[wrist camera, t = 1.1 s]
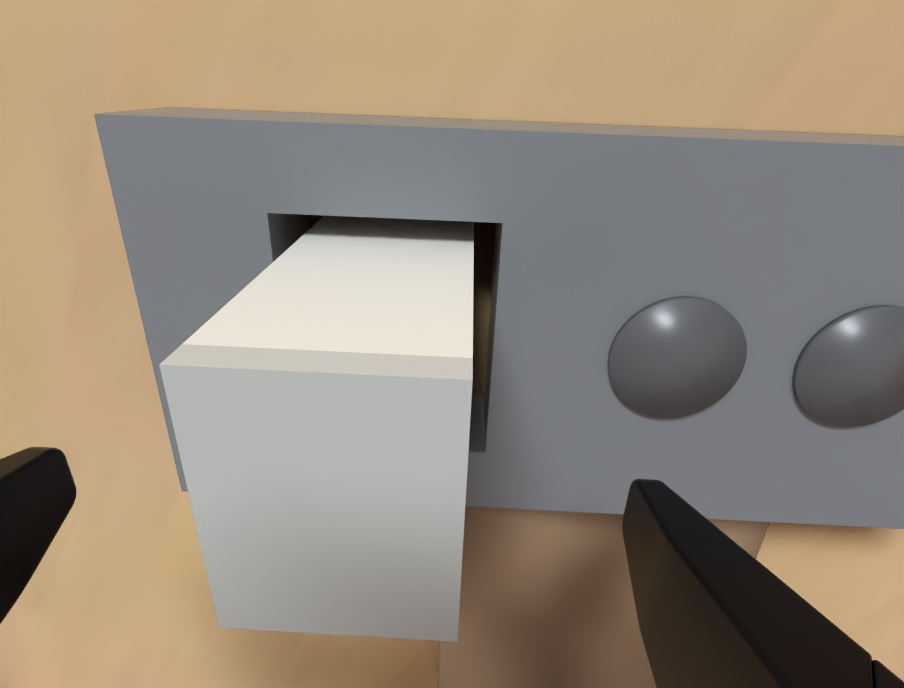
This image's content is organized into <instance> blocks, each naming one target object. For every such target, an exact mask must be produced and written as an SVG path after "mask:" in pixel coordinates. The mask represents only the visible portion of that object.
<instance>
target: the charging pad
mask: <svg viewBox="0 0 904 688" xmlns="http://www.w3.org/2000/svg"><path fill="white" fill-rule="evenodd" d="M623 515H624V514H607V513H588V512H569V511H550V510H531V509H512V508H493V507H474V506H465V520H464V537H463V554H462V572H461V589H460V606H459V623H458V641H457V642H452V641H440V648H439V676H438V688H656V684H655V681H654V677H653V674H652V671H651V667H650V664H649V660H648V657H647V654H646V650H645V647H644V643H643V639H642V636H641V632H640V628H639V623H638V618H637V612H636V607H635V601H634V595H633V590H632V584H631V578H630V573H629V567H628V562H627V556H626V550H625V545H624V539H623V533H622V520H623ZM708 520H709V521H710V522H711V523H713V524H714V525H715V526H716V527H717V528H719V529H720V530H721V531H722V532H723V533H725V534H726V535H727V536H728V537H729V538H731V539H732V540H733V541H734V542H736V543H737V544H738V545H739V546H740V547H742V548H743V549H744V550H745V551H746V552H748V553H749V554H750V555H751V556H752V557H754V558H755V559H756V557H757V554H758V552H759V549H760V547H761V544H762V541H763V539H764V536H765V533H766V531H767V528H768V526H769V523H770V522H760V521H741V520H722V519H708Z"/></svg>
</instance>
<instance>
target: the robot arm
mask: <svg viewBox="0 0 904 688" xmlns="http://www.w3.org/2000/svg"><path fill="white" fill-rule="evenodd" d="M75 498H76V486H75V483H74V480H73V477H72V474H71V471H70V469H69V466H68V463H67V460H66V457H65V455H64V453H63V452H62V451H61V450H60V449H57V448H48V447H31V448H27V449H24V450H22V451H19V452H17V453H14V454H12V455H10V456H7V457H5V458H2V459H0V624H1V622H2V621H3V620H4V618H5V617H6V615H7V614H8V612H9V611H10V610H11V608H12V607H13V605H14V604H15V602H16V601H17V599H18V598H19V596H20V595H21V593H22V592H23V590H24V588H25V587H26V585H27V584H28V582H29V580H30V579H31V577H32V575H33V573H34V572H35V570H36V568H37V567H38V565H39V563H40V561H41V560H42V558H43V556H44V554H45V553H46V551H47V549H48V548H49V546H50V544H51V542H52V541H53V539H54V537H55V535H56V534H57V532H58V530H59V528H60V527H61V525H62V523H63V522H64V520H65V518H66V516H67V515H68V513H69V511H70V509H71V508H72V506H73V504H74V501H75ZM622 533H623V539H624V545H625V550H626V556H627V562H628V567H629V573H630V578H631V584H632V590H633V595H634V601H635V607H636V612H637V618H638V623H639V628H640V632H641V636H642V639H643V643H644V647H645V650H646V654H647V657H648V660H649V664H650V667H651V671H652V674H653V677H654V681H655V684H656V688H904V682H903V681H902V680H901V679H900V678H898V677H897V676H896V675H895V674H894V673H892V672H891V671H890V670H889V669H888V668H886V667H885V666H884V665H883V664H881V663H880V662H879V661H877V660H873V661H872V657H871V655H870V654H869V653H868V652H867V651H866V650H864V649H863V648H862V647H861V646H860V645H858V644H857V643H856V642H855V641H853V640H852V639H851V638H850V637H849V636H847V635H846V634H845V633H844V632H843V631H841V630H840V629H839V628H838V627H837V626H835V625H834V624H833V623H832V622H831V621H829V620H828V619H827V618H826V617H825V616H823V615H822V614H821V613H820V612H819V611H817V610H816V609H815V608H814V607H813V606H811V605H810V604H809V603H808V602H807V601H805V600H804V599H803V598H802V597H801V596H799V595H798V594H797V593H796V592H795V591H793V590H792V589H791V588H790V587H788V586H787V585H786V584H785V583H784V582H782V581H781V580H780V579H779V578H778V577H776V576H775V575H774V574H773V573H772V572H770V571H769V570H768V569H767V568H766V567H764V566H763V565H762V564H761V563H760V562H758V561H757V560H756V559H755V558H754V557H752V556H751V555H750V554H749V553H748V552H746V551H745V550H744V549H743V548H742V547H740V546H739V545H738V544H737V543H736V542H734V541H733V540H732V539H731V538H729V537H728V536H727V535H726V534H725V533H723V532H722V531H721V530H720V529H719V528H717V527H716V526H715V525H714V524H713V523H711V522H710V521H709V520H708V519H707V518H705V517H704V516H703V515H702V514H701V513H699V512H698V511H697V510H696V509H695V508H693V507H692V506H691V505H690V504H689V503H687V502H686V501H685V500H684V499H683V498H681V497H680V496H679V495H678V494H677V493H675V492H674V491H673V490H672V489H671V488H669V487H668V486H667V485H666V484H664V483H663V482H662V481H660V480H652V479H635V480H634V481H632V483H631V485H630V488H629V493H628V497H627V501H626V506H625V510H624V515H623V520H622Z"/></svg>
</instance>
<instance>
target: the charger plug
mask: <svg viewBox="0 0 904 688" xmlns="http://www.w3.org/2000/svg"><path fill="white" fill-rule="evenodd" d="M473 277H474V222H466V221H443V220H420V219H396V218H373V217H349V216H326V215H325V216H324V217H323V218H321V219H320V220H319V221H318V222H317V223H316V224H315V225H314V226H313V227H311V228H310V229H309V230H308V231H307V232H306V233H305V234H304V235H303V236H301V237H300V238H299V239H298V240H297V241H296V242H295V243H294V244H293V245H291V246H290V247H289V248H288V249H287V250H286V251H285V252H284V253H283V254H281V255H280V256H279V257H278V258H277V259H276V260H275V261H274V262H273V263H271V264H270V265H269V266H268V267H267V268H266V269H265V270H264V271H263V272H262V273H260V274H259V275H258V276H257V277H256V278H255V279H254V280H253V281H252V282H250V283H249V284H248V285H247V286H246V287H245V288H244V289H243V290H242V291H240V292H239V293H238V294H237V295H236V296H235V297H234V298H233V299H232V300H230V301H229V302H228V303H227V304H226V305H225V306H224V307H223V308H222V309H220V310H219V311H218V312H217V313H216V314H215V315H214V316H213V317H212V318H210V319H209V320H208V321H207V322H206V323H205V324H204V325H203V326H202V327H200V328H199V329H198V330H197V331H196V332H195V333H194V334H193V335H192V336H190V337H189V338H188V339H187V340H186V341H185V342H184V343H183V344H182V345H180V346H179V347H178V348H177V349H176V350H175V351H174V352H173V353H172V354H170V355H169V356H168V357H167V358H166V359H165V360H164V361H163V362H162V363H161V364H159V366H160V370H161V375H162V379H163V383H164V388H165V392H166V397H167V401H168V406H169V410H170V414H171V419H172V423H173V428H174V432H175V436H176V441H177V445H178V450H179V454H180V458H181V463H182V467H183V472H184V476H185V480H186V485H187V489H188V494H189V498H190V502H191V507H192V511H193V516H194V520H195V524H196V529H197V533H198V538H199V542H200V546H201V551H202V555H203V560H204V564H205V568H206V573H207V577H208V582H209V586H210V591H211V595H212V599H213V604H214V608H215V613H216V617H217V621H218V626H219V628H228V629H245V630H263V631H280V632H297V633H314V634H332V635H349V636H366V637H383V638H401V639H418V640H435V641H452V642H457V641H458V623H459V606H460V589H461V572H462V554H463V537H464V520H465V503H466V485H467V468H468V451H469V434H470V417H471V399H472V382H473Z"/></svg>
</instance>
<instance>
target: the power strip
mask: <svg viewBox="0 0 904 688" xmlns="http://www.w3.org/2000/svg"><path fill="white" fill-rule="evenodd" d="M94 116H95V120H96V125H97V129H98V133H99V137H100V142H101V146H102V150H103V155H104V159H105V163H106V168H107V172H108V176H109V180H110V185H111V189H112V193H113V198H114V202H115V206H116V210H117V215H118V219H119V223H120V228H121V232H122V236H123V240H124V245H125V249H126V253H127V258H128V262H129V266H130V270H131V275H132V279H133V283H134V288H135V292H136V296H137V301H138V305H139V309H140V313H141V318H142V322H143V326H144V331H145V335H146V339H147V343H148V348H149V352H150V356H151V361H152V365H153V369H154V373H155V378H156V382H157V386H158V391H159V395H160V399H161V404H162V408H163V412H164V416H165V421H166V425H167V429H168V434H169V438H170V442H171V446H172V451H173V455H174V459H175V464H176V468H177V472H178V476H179V481H180V485H181V489H182V491H187V492H188V489H187V485H186V480H185V476H184V472H183V467H182V463H181V458H180V454H179V450H178V445H177V441H176V436H175V432H174V428H173V423H172V419H171V414H170V410H169V406H168V401H167V397H166V392H165V388H164V383H163V379H162V375H161V370H160V366H159V364H161V363H162V362H163V361H164V360H165V359H166V358H167V357H168V356H169V355H170V354H172V353H173V352H174V351H175V350H176V349H177V348H178V347H179V346H180V345H182V344H183V343H184V342H185V341H186V340H187V339H188V338H189V337H190V336H192V335H193V334H194V333H195V332H196V331H197V330H198V329H199V328H200V327H202V326H203V325H204V324H205V323H206V322H207V321H208V320H209V319H210V318H212V317H213V316H214V315H215V314H216V313H217V312H218V311H219V310H220V309H222V308H223V307H224V306H225V305H226V304H227V303H228V302H229V301H230V300H232V299H233V298H234V297H235V296H236V295H237V294H238V293H239V292H240V291H242V290H243V289H244V288H245V287H246V286H247V285H248V284H249V283H250V282H252V281H253V280H254V279H255V278H256V277H257V276H258V275H259V274H260V273H262V272H263V271H264V270H265V269H266V268H267V267H268V266H269V265H270V264H271V263H273V262H274V261H275V260H276V259H277V258H278V257H279V256H280V255H281V254H283V253H284V252H285V251H286V250H287V249H288V248H289V247H290V246H291V245H293V244H294V243H295V242H296V241H297V240H298V239H299V238H300V237H301V236H303V235H304V234H305V233H306V232H307V231H308V230H309V229H308V216H307V215H326V216H349V217H373V218H396V219H420V220H443V221H466V222H490V223H496V225H495V240H494V254H493V269H492V283H491V297H490V312H489V326H488V341H487V355H486V370H485V384H484V395H479V394H472V399H471V417H470V434H469V451H468V468H467V485H466V503H465V506H474V507H493V508H512V509H531V510H550V511H569V512H588V513H607V514H624V510H625V506H626V501H627V497H628V493H629V488H630V485H631V483H632V481H634V480H635V479H652V480H660V481H662V482H663V483H664V484H666V485H667V486H668V487H669V488H671V489H672V490H673V491H674V492H675V493H677V494H678V495H679V496H680V497H681V498H683V499H684V500H685V501H686V502H687V503H689V504H690V505H691V506H692V507H693V508H695V509H696V510H697V511H698V512H699V513H701V514H702V515H703V516H704V517H705V518H707V519H722V520H741V521H760V522H779V523H798V524H817V525H836V526H855V527H874V528H893V529H904V136H885V135H859V134H834V133H808V132H783V131H757V130H731V129H706V128H680V127H655V126H629V125H604V124H578V123H553V122H527V121H501V120H476V119H450V118H425V117H399V116H374V115H348V114H323V113H297V112H271V111H246V110H220V109H195V108H169V107H167V108H155V109H144V110H133V111H122V112H110V113H99V114H94Z"/></svg>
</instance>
